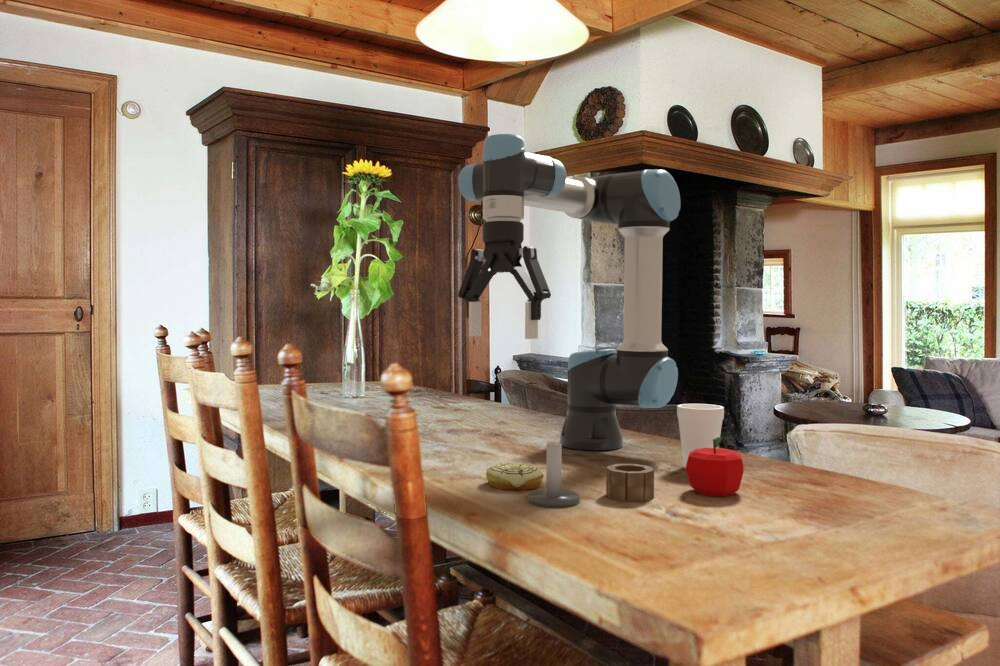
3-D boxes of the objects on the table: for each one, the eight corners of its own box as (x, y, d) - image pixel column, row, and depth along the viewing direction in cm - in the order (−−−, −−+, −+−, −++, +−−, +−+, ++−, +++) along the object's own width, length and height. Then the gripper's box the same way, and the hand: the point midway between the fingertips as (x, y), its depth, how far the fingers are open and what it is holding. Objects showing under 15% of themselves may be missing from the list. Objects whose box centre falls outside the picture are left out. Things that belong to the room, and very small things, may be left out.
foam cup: (702, 474, 161) (703, 410, 161) (667, 467, 169) (668, 405, 168) (731, 469, 167) (733, 407, 166) (697, 462, 174) (697, 402, 174)
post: (548, 492, 145) (549, 437, 145) (589, 500, 140) (590, 443, 139) (517, 501, 139) (517, 444, 138) (559, 510, 133) (559, 450, 132)
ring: (622, 488, 149) (622, 462, 148) (660, 495, 143) (661, 468, 143) (598, 496, 143) (598, 468, 142) (637, 503, 137) (638, 475, 137)
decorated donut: (522, 495, 144) (522, 474, 144) (475, 487, 150) (475, 467, 150) (552, 484, 152) (553, 464, 152) (506, 477, 159) (506, 458, 158)
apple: (731, 502, 139) (732, 445, 139) (675, 493, 145) (675, 438, 145) (753, 491, 147) (754, 437, 147) (698, 483, 154) (699, 431, 153)
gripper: (440, 223, 151) (439, 335, 152) (545, 215, 135) (543, 340, 136) (467, 226, 157) (466, 334, 158) (570, 218, 141) (569, 339, 142)
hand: (502, 337), depth 147 cm, fingers open, 13 cm apart
